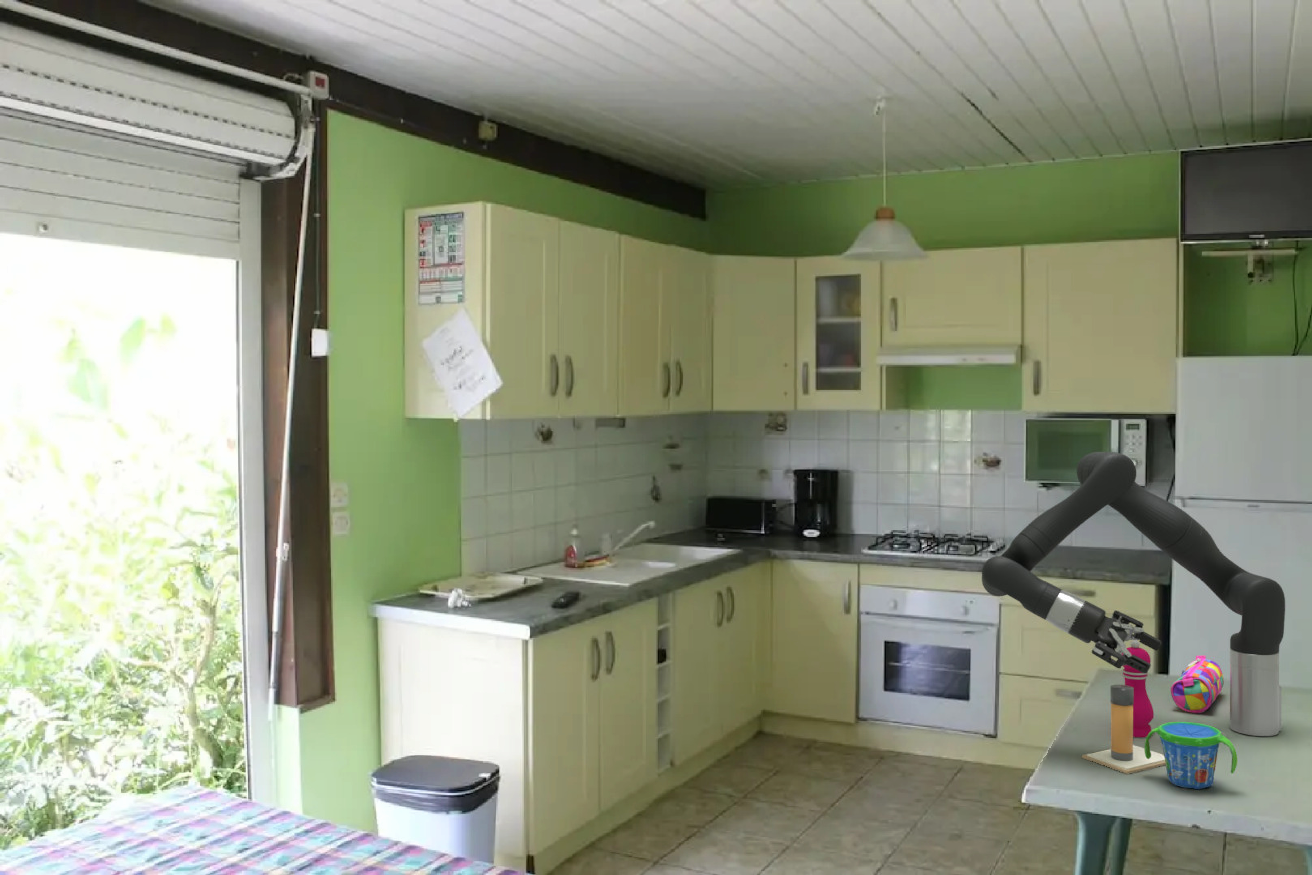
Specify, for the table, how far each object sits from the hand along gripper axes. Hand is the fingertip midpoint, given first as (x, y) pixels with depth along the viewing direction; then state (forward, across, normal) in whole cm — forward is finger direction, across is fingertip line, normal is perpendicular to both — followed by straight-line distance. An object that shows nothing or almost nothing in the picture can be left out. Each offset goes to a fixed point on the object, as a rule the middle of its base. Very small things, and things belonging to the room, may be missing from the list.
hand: (1154, 657), depth 218 cm
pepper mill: (+4, +10, +27) cm, 29 cm away
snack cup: (+15, -14, +12) cm, 24 cm away
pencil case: (+14, +40, +34) cm, 54 cm away
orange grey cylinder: (+4, -9, +18) cm, 21 cm away
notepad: (+5, -8, +19) cm, 21 cm away
